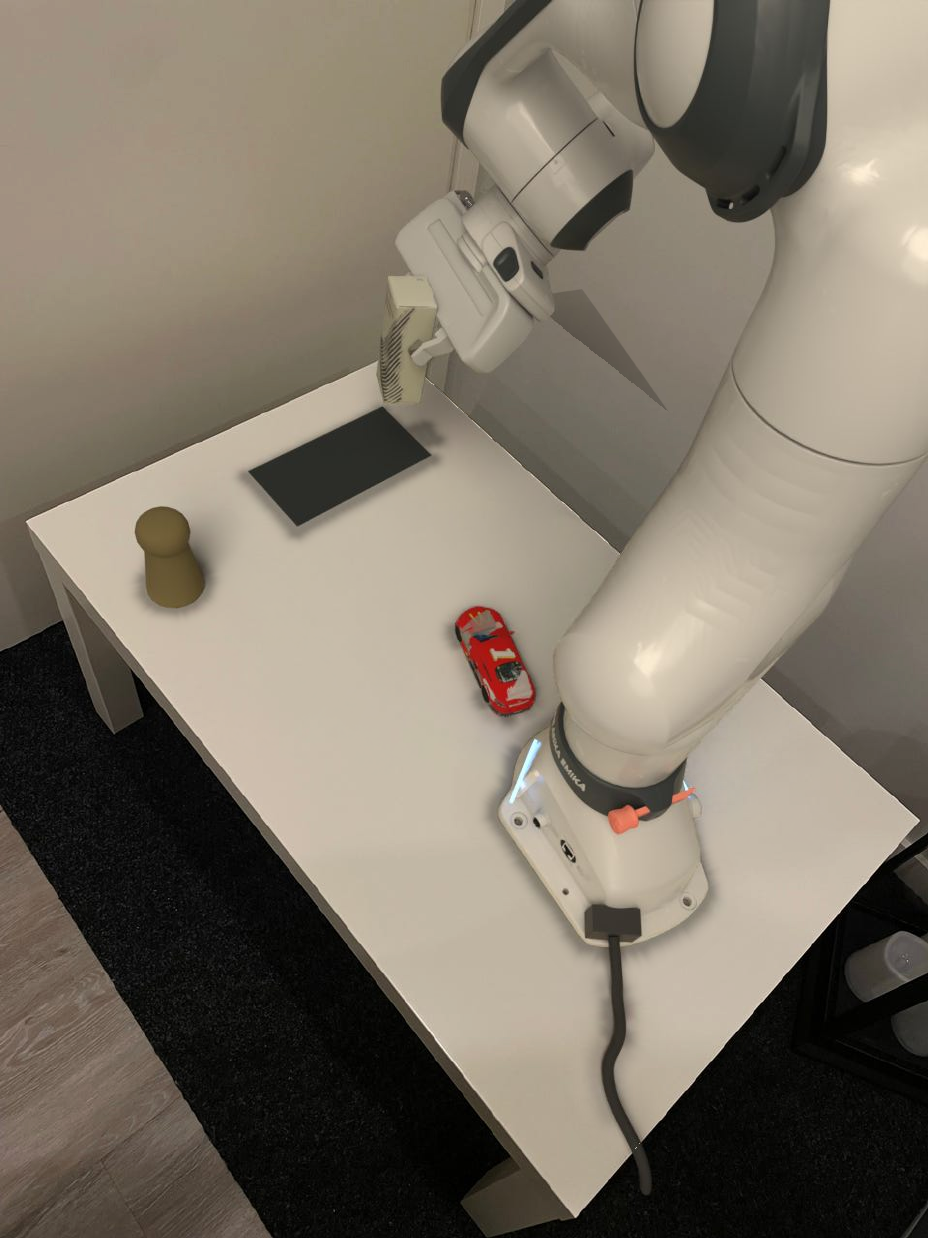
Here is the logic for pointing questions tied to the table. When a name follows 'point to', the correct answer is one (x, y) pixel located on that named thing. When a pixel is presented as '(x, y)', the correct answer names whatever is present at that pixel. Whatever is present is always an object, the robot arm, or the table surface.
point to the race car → (495, 661)
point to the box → (405, 337)
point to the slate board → (339, 465)
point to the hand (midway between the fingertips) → (402, 338)
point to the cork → (168, 558)
